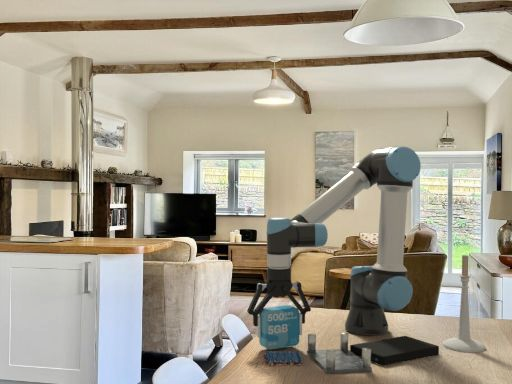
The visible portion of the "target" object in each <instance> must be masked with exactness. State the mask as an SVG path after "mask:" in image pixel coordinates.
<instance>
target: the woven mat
mask: <svg viewBox="0 0 512 384" xmlns="http://www.w3.org/2000/svg"><path fill="white" fill-rule="evenodd" d="M263 358H264V360H265V361H264V362H265V364H266V367H270V366H271V367H274V366H275V367H278V366H279V367H281V366H282V367H289V366H290V367H297V365H298V366H299V367H301V366H302V364H303V362H302V361H303V359H302V357H301V355H300V353H299V350H298V351H297V350H296V351H293V350H292V351H288V350H286V351H283V350H281V351H279V350H277V351H265V352H264V353H263Z"/></svg>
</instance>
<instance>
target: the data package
mask: <svg viewBox="0 0 512 384" xmlns="http://www.w3.org/2000/svg"><path fill="white" fill-rule="evenodd" d="M299 312H300V311H299V310H298V308H297V307H296V306H295V307H294V306H293V305H290V304H287V305H278V306H268V307H264V308H263V309H262V311H261V312H260V313H259V315H260V331H261V337H260V338H259V345H261V346H262V347H263V348H265V349H267V350H276V349H281V348H288V347H296V346H298V345H299V343H300V335H299Z"/></svg>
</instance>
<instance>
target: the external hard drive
mask: <svg viewBox="0 0 512 384" xmlns="http://www.w3.org/2000/svg"><path fill="white" fill-rule="evenodd" d="M362 348H370V349H371V363H374V364H376V363H377V365H379V366H381V365H382V367H384V366H385V365H386V366H390V365H394V364H400V363H405V362H411V361H414V360H419V359H424V357H425V358H428V357H429V358H430V357H435V356H439V355H440V354H439V352H440V347H439V345H437V344H433V343H431V342H430V343H429V342H427V341H424V340H421V339H416V338H414V337H411V336H407V335H401V336H396V337H390V338H385V339H384V338H383V339H378V340H371V341H366V342H361V343H355V344H351V345H349V350H350V351H351V352H352V353H353V354H355V355H356V356H357V357H359V358H360V359H362Z"/></svg>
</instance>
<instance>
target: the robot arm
mask: <svg viewBox="0 0 512 384" xmlns="http://www.w3.org/2000/svg"><path fill="white" fill-rule="evenodd" d="M421 165H422V164H421V159H420V157H419V155H418V154H417V153H416V151H415V150H414V149H412V148H410V147H408V146H399V145H397V146H396V145H395V146H391V147H381V148H377V149H374V150H372V151H371V152H369V153H368V154H366V155H365V156H364V157H363V158H361V159H360V160H359V161H358V162H356V163H355V164H354V165H353V166H352V167H350V169H349V173H348V174H346V175H345V176H344V177H342V178H341V179H340V180H339V181H337V182H336V183H335V184H334V185H333V186H331V187H330V188H329V189H327V190H326V191H325V192H324V193H323V194H321V195H320V196H318V197H317V198H316V199H315V200H313V202H311V203H310V204H309V205H307V206H306V207H305V208H304V209H303V210H301V211H300V212H299V213H298V214H296V215H295V216H294V217H292V218H290V217H270V218H268V220H267V222H266V223H267V224H266V250H267V251H266V266H268V267H267V268H266V283H260V282H258V283H257V284H256V291H255V292H254V295H253V296H252V299H251V300H250V304H249V306H248V308H247V310H246V311H247V313H248V314H249V315H252V324H253V327H256V329H255V330H256V334H255V335H256V337H257V338H260V337H261V331H260V315H259V313H260V312H261V311H262V309H263V308H266V305H267V304H268V303H269V301H270V300H272V298H274V299H275V298H276V299H277V298H285V297H287V298H288V299H289V300H290V301H291V302H292V304H293V305H294V306H295V308H297V309H298V310H299V336H303V325H304V324H305V323H306V314H307V313H308V312H311V311H312V308H311V306H310V304H309V302H308V300H307V298H306V295H305V293H304V291H303V289H302V283H301V282H300V281H295V282H292V268H291V266H292V249H293V248H317V247H323V246H325V245H326V244H327V241H328V236H329V235H328V229H327V226H326V225H325V224H324V222H325V221H326V220H328V219H329V218H330V217H331V216H333V214H335V213H336V212H338V210H339V209H340V208H342V207H344V206H345V205H346V204H347V203H349V202H350V201H351V200H352V199H354V198H355V197H356V196H357V195H358V194H359V193H361V192H362V191H363V190H369V189H370V188H372V186H374V185H376V187H377V188H378V189H379V190H380V205H379V206H380V207H379V221H378V233H377V234H378V237H377V250H376V251H377V253H376V262H375V263H374V264H373V265H360V266H357V265H355V266H352V267H351V270H350V276H349V277H350V293H349V294H350V295H349V296H350V306H349V307H350V308H349V311H348V313H347V315H346V320H345V323H344V329H345V331H347V333H351V334H355V335H360V336H361V335H363V336H380V335H381V336H382V335H385V334H387V333H389V324H388V320H387V316H386V314H385V310H386V311H390V312H391V311H393V312H394V311H395V312H396V311H400V310H403V309H405V307H406V306H408V304H410V302H411V300H412V297H413V292H414V290H413V289H414V288H413V285H412V283H411V282H410V280H409V279H408V269H407V268H406V266H404V254H405V253H404V251H405V238H406V237H405V236H406V223H407V221H406V219H407V205H408V193H409V192H410V191H411V190H412V189H413V187H414V186H413V185H414V180H416V179H417V177H419V175H420V172H421V168H422V166H421ZM293 288H294V290H296V292H297V294H298V295H297V296H298V297H299V299H300V301H301V303H302V304H303V305H301V304H300V303H299V302H298V300H297V299H296V298H295V296H294V295H293V294H292V293H291V292H290V291H291V290H292V289H293ZM265 289H266V290H267V292H266V294H265V295H264V297H263V298H262V299H261V301H260V302H259V300H260V297H261V295H262V293H263V291H264V290H265ZM258 302H259V303H258ZM257 304H258V305H257ZM256 305H257V306H256Z"/></svg>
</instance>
